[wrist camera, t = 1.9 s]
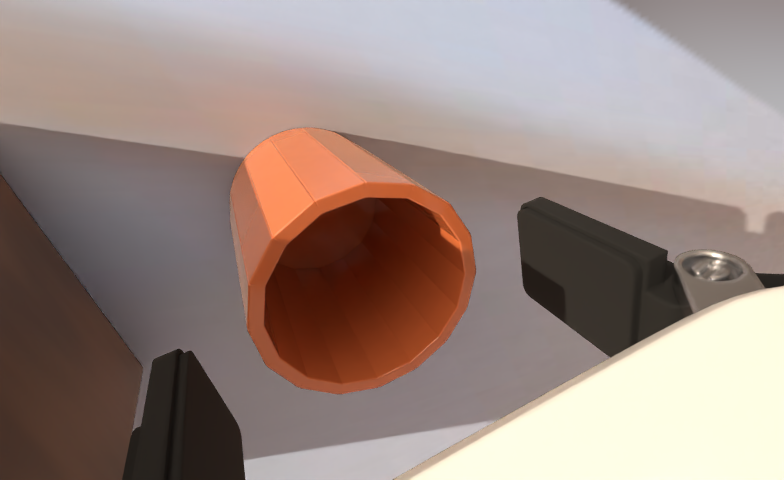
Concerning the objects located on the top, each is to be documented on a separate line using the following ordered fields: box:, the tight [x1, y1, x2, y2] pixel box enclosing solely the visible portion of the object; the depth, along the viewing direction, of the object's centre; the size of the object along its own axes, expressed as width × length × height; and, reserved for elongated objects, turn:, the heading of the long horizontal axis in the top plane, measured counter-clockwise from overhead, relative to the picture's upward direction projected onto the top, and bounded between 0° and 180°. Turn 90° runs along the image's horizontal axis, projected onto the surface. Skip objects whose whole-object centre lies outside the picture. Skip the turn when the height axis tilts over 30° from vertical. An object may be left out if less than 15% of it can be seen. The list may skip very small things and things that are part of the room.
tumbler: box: [229, 128, 476, 394], centre depth 15 cm, size 6×6×8 cm
